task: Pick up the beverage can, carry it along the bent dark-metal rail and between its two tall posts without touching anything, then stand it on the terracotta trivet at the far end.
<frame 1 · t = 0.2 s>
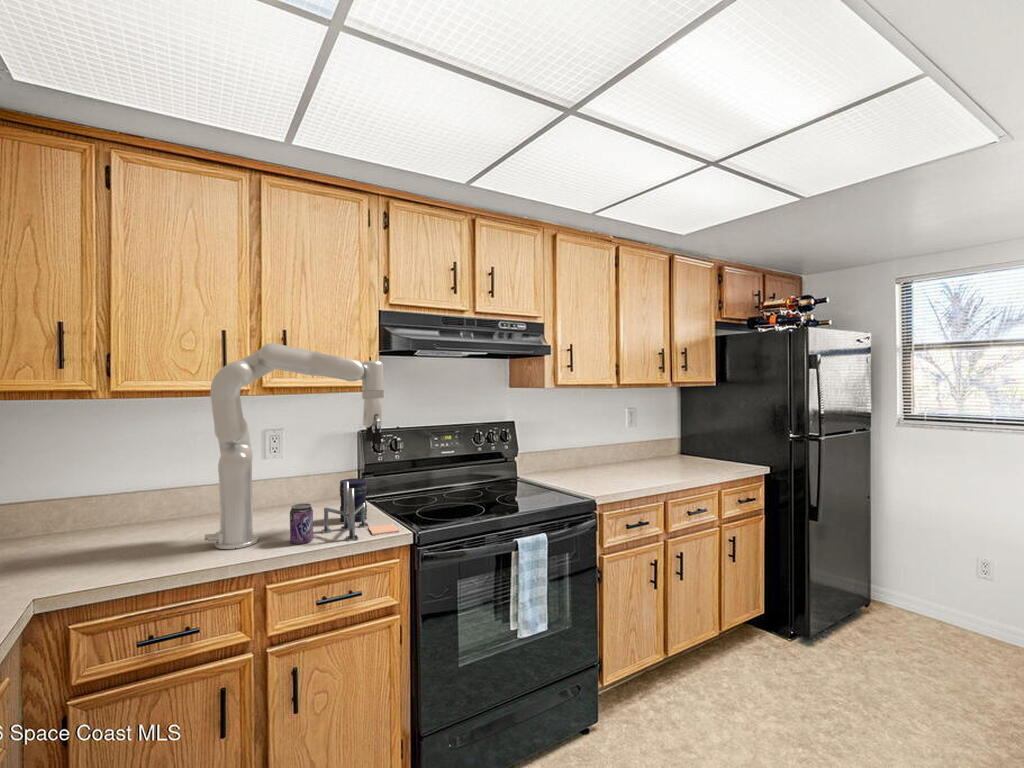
hand: (373, 442, 192), 31 cm above the worktop, tool pointing down, fingers open, 9 cm apart
trivet: (383, 530, 189), on the worktop
dark purple cylinder: (353, 520, 203), on the worktop
beverage can: (301, 542, 176), on the worktop
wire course: (349, 533, 185), on the worktop
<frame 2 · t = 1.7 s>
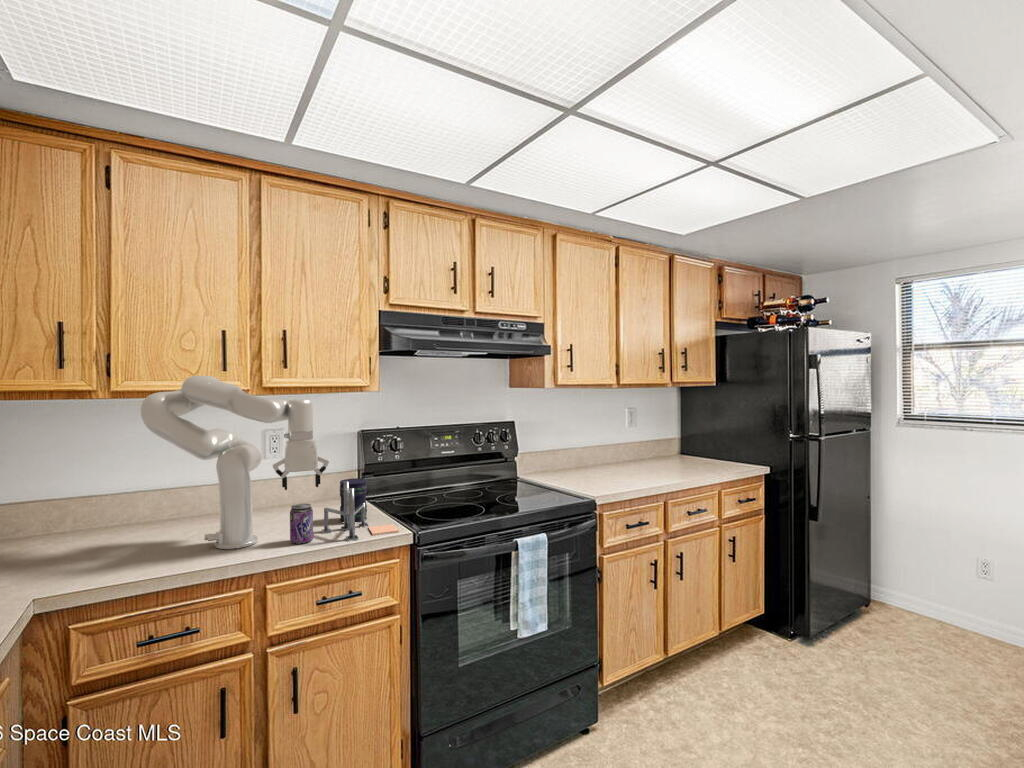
hand: (301, 488, 176), 18 cm above the worktop, tool pointing down, fingers open, 9 cm apart
nothing on the worktop moved.
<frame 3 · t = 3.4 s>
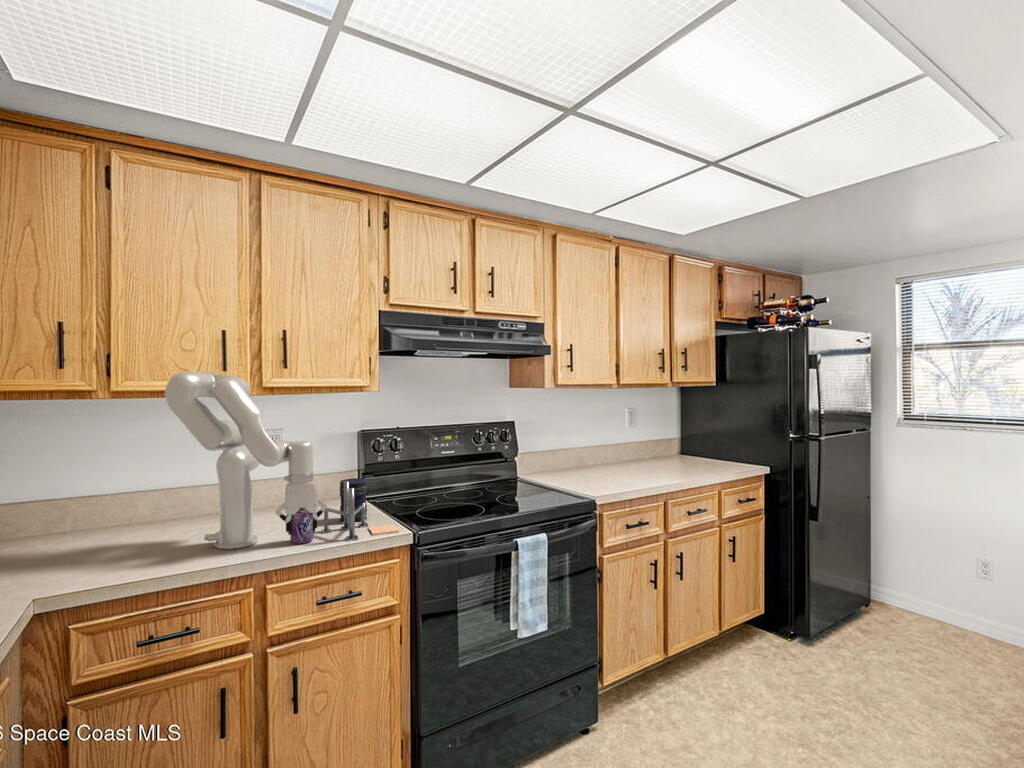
hand: (301, 531, 176), 3 cm above the worktop, tool pointing down, fingers closed on beverage can, 6 cm apart
beverage can: (302, 542, 176), on the worktop, touching gripper
everything else where it was.
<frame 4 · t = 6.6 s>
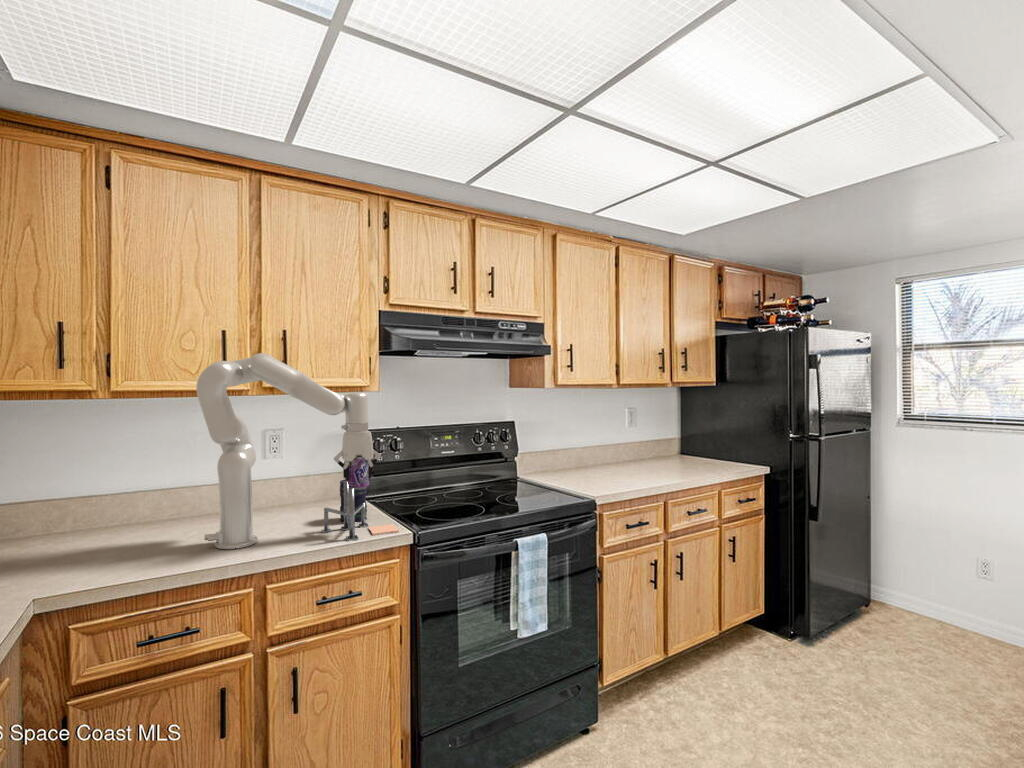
hand: (358, 478, 186), 19 cm above the worktop, tool pointing down, fingers closed on beverage can, 6 cm apart
beverage can: (358, 488, 186), point 16 cm above the worktop, touching gripper
everything else where it was.
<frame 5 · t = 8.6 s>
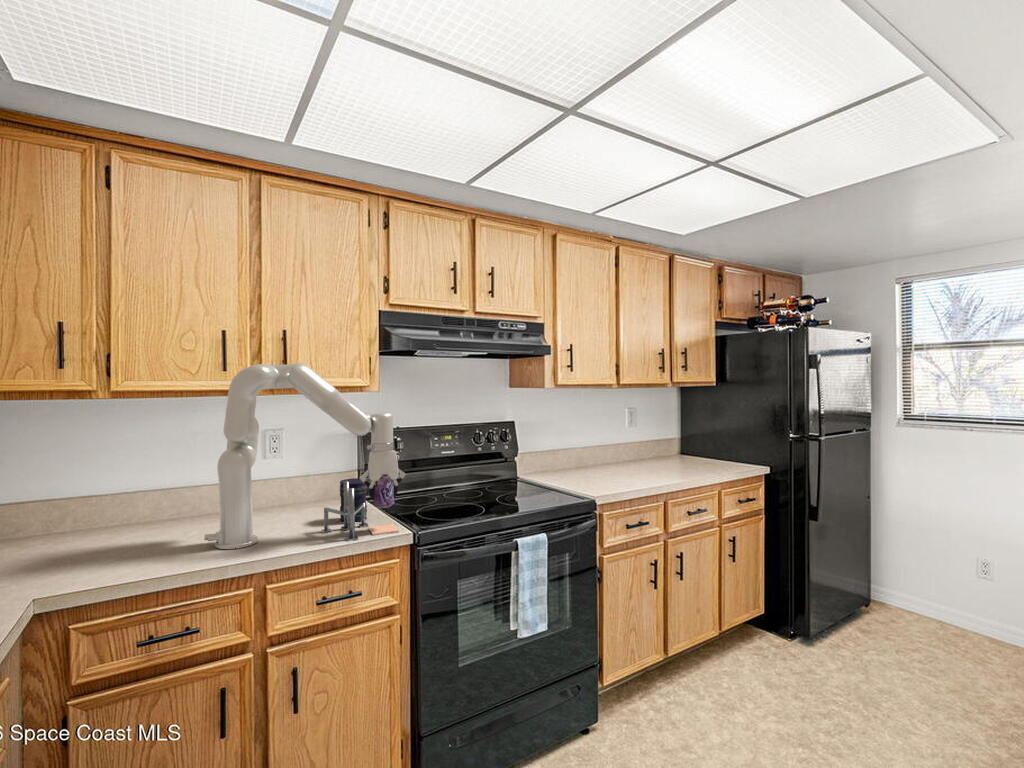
hand: (383, 497, 188), 12 cm above the worktop, tool pointing down, fingers closed on beverage can, 6 cm apart
beverage can: (383, 506, 188), point 8 cm above the worktop, touching gripper
everything else where it was.
when the fingers open (5 cm above the worktop, at t = 10.1 s): beverage can drops 1 cm, resting on trivet.
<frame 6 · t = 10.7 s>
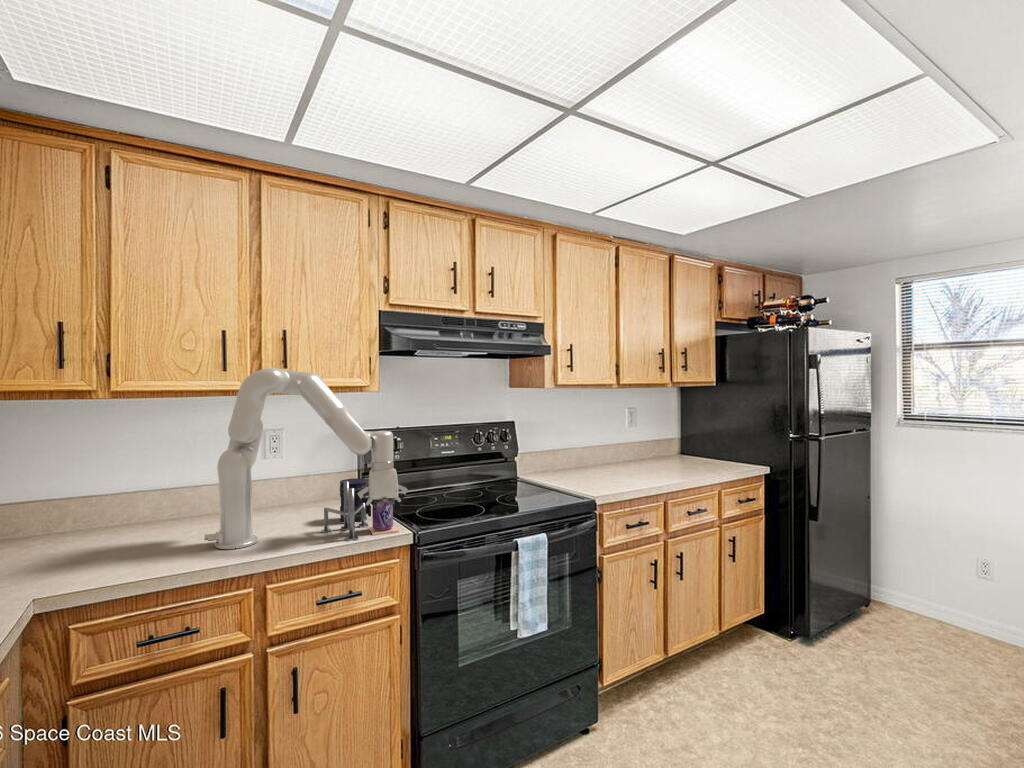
hand: (383, 514, 188), 6 cm above the worktop, tool pointing down, fingers open, 9 cm apart
beverage can: (383, 529, 189), resting on trivet
everything else where it was.
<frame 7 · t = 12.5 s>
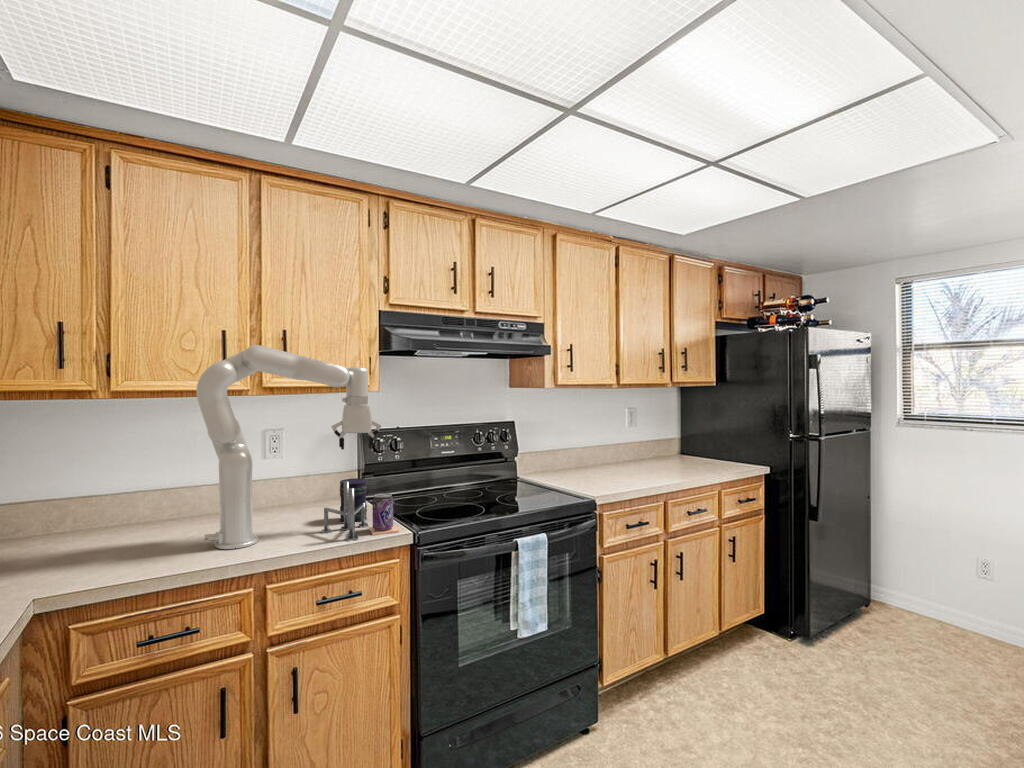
hand: (356, 448, 193), 29 cm above the worktop, tool pointing down, fingers open, 9 cm apart
nothing on the worktop moved.
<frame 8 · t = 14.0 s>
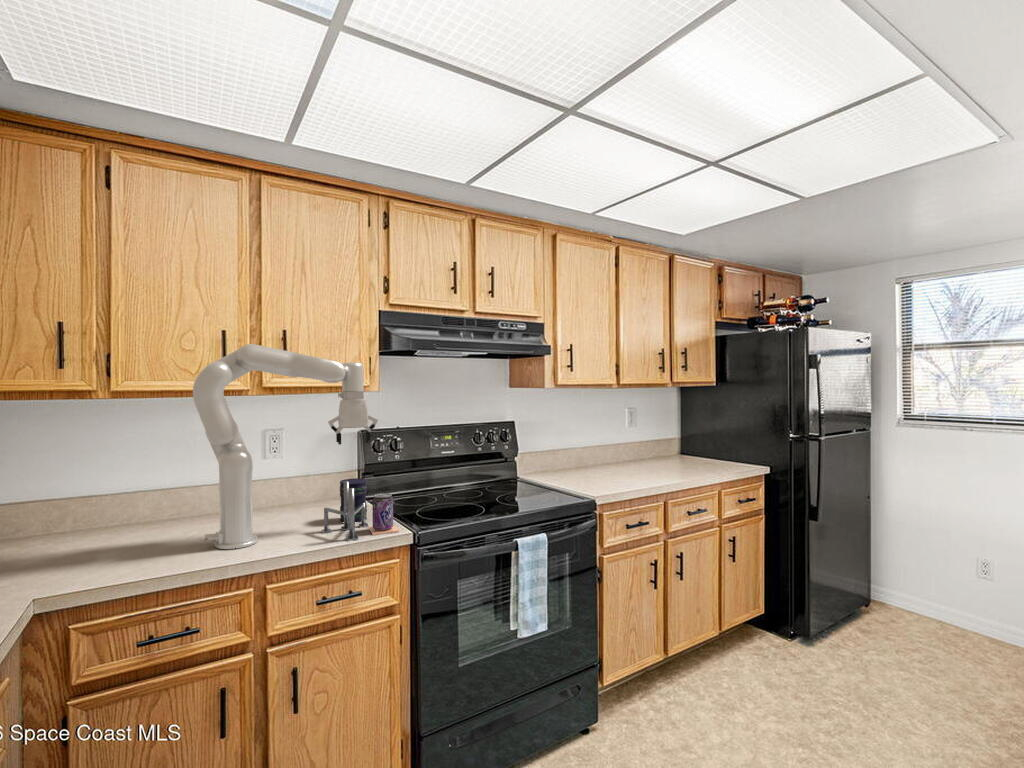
hand: (353, 443, 194), 30 cm above the worktop, tool pointing down, fingers open, 9 cm apart
nothing on the worktop moved.
at the end: beverage can inside the target area on the trivet (0.1 cm from its centre), point 0.4 cm above the trivet's base; beverage can tilted 0°; beverage can touching trivet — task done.
